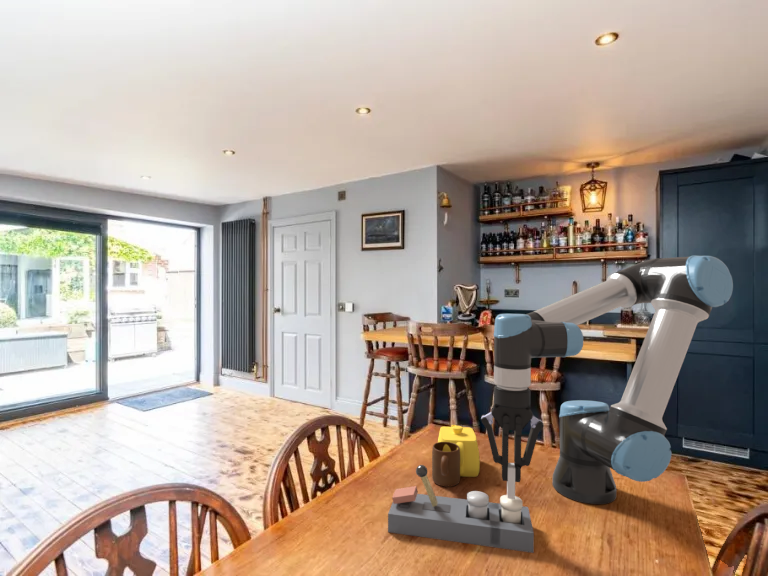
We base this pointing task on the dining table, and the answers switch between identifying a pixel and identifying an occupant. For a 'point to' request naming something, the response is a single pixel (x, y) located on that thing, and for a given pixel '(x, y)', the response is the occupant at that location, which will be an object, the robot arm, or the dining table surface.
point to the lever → (426, 483)
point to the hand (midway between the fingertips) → (510, 495)
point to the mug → (446, 464)
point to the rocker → (405, 495)
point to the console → (460, 523)
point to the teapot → (463, 448)
